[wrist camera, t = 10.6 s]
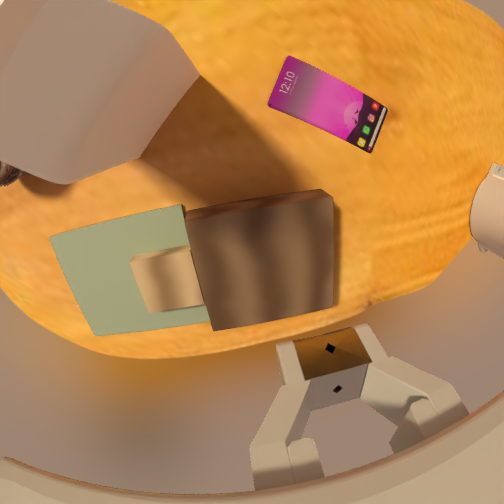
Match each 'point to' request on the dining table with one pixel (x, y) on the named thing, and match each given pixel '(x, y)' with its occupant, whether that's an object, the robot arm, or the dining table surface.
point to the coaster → (167, 279)
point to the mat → (121, 270)
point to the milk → (83, 85)
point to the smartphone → (327, 103)
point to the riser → (264, 257)
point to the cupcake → (9, 174)
